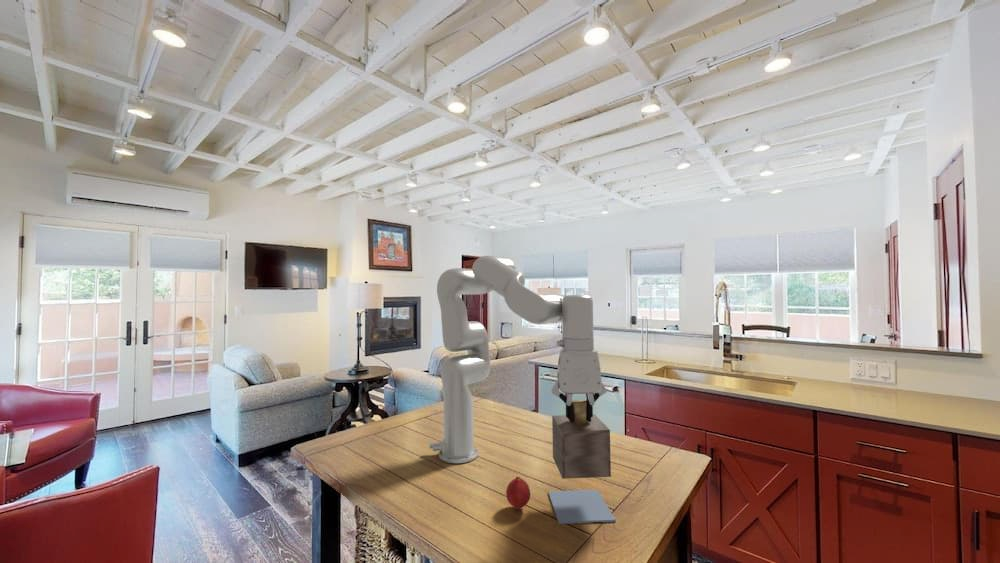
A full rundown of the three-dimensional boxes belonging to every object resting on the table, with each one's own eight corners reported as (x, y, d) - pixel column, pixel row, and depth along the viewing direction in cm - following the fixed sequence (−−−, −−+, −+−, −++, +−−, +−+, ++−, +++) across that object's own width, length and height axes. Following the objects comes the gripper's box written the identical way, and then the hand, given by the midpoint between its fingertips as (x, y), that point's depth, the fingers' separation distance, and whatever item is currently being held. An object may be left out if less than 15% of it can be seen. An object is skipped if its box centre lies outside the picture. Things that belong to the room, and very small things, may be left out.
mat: (558, 524, 84) (558, 521, 84) (548, 493, 97) (548, 491, 97) (615, 521, 85) (615, 519, 85) (597, 491, 98) (597, 489, 98)
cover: (562, 478, 85) (561, 409, 86) (552, 457, 96) (551, 396, 97) (610, 476, 86) (609, 408, 86) (595, 455, 97) (594, 395, 97)
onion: (505, 502, 93) (505, 470, 93) (528, 501, 93) (527, 469, 93) (507, 516, 87) (507, 481, 87) (532, 515, 87) (531, 480, 88)
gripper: (547, 347, 88) (548, 426, 87) (616, 346, 89) (618, 424, 88) (542, 343, 95) (543, 416, 95) (605, 342, 96) (607, 414, 96)
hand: (579, 419), depth 91 cm, fingers closed on cover, 3 cm apart
